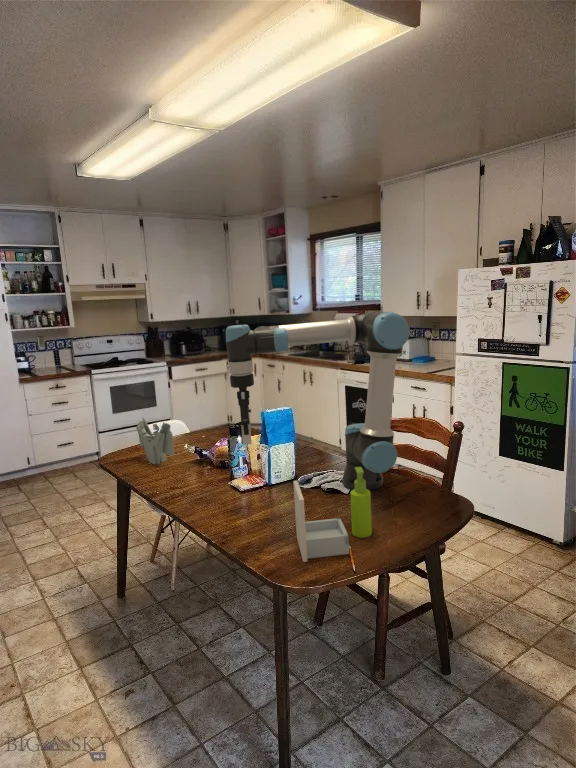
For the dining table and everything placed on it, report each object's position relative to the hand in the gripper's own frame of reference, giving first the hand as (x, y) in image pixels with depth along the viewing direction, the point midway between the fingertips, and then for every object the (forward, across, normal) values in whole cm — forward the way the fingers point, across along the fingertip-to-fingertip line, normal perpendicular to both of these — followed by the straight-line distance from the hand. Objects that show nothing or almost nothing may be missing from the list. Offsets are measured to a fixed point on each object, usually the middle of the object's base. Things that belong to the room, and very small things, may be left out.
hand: (247, 438), depth 160 cm
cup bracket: (+27, +25, +19) cm, 42 cm away
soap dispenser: (+27, +19, +32) cm, 46 cm away
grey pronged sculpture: (+27, -66, -44) cm, 83 cm away
